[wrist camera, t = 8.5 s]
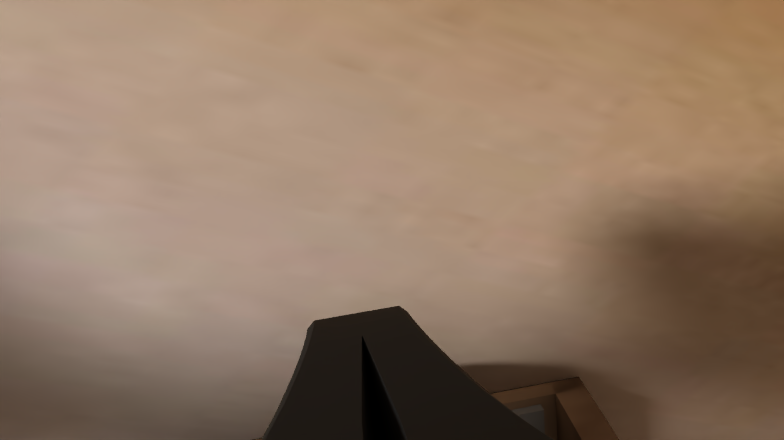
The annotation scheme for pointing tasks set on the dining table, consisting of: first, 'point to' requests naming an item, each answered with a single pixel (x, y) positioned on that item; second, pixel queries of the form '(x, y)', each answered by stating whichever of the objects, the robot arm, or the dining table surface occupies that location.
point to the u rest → (558, 410)
